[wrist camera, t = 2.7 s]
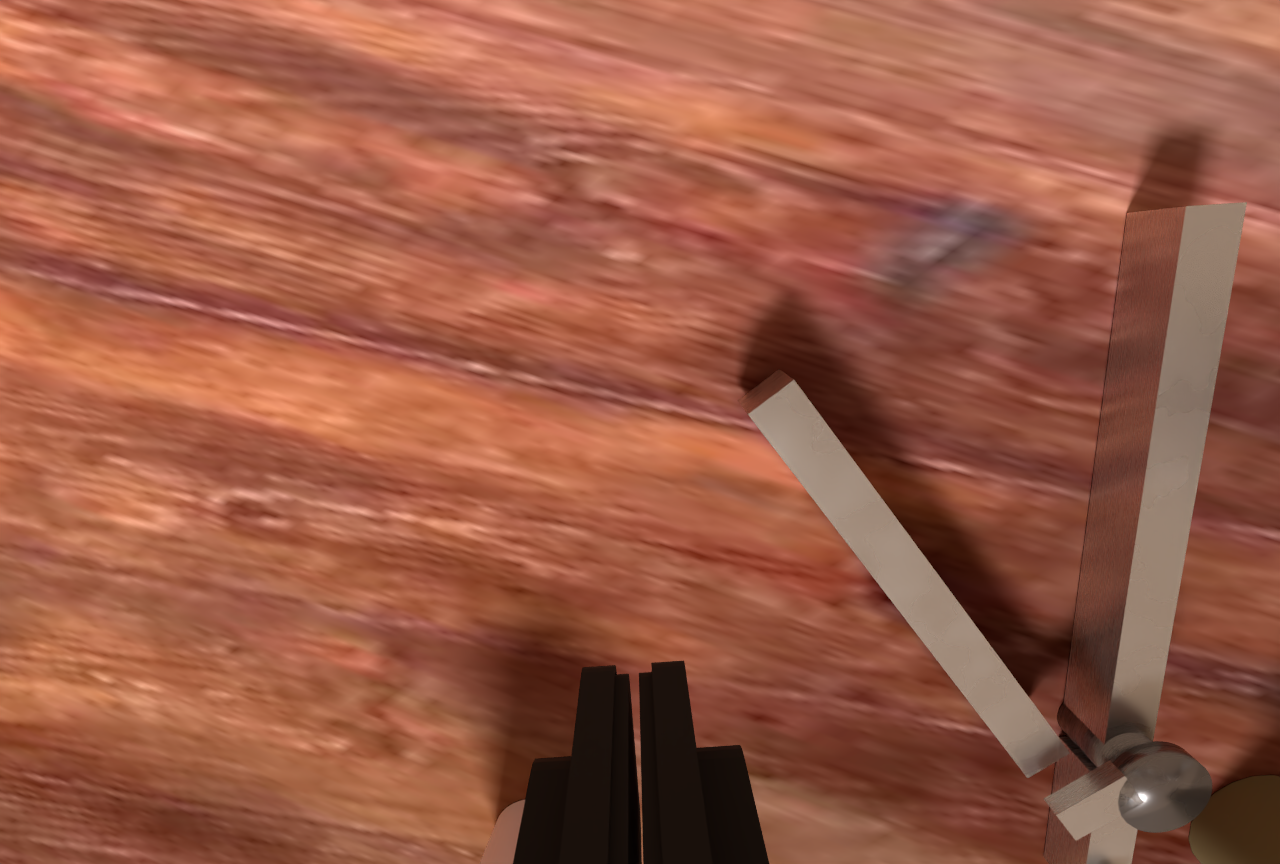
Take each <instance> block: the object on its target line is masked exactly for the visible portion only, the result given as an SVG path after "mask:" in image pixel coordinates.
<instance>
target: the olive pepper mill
mask: <svg viewBox="0 0 1280 864" xmlns="http://www.w3.org/2000/svg"><path fill="white" fill-rule="evenodd" d="M1189 841H1190V845H1191V849H1192V853H1193V854H1194V855H1195V856H1196V858H1197V859H1198V860H1199V861H1200V863H1201V864H1280V776H1275V775H1264V776H1252V777H1248V778H1245V779H1242V780H1239V781H1236V782H1233V783H1231V784H1229V785H1227V786H1226V787H1224V788H1222V789H1221V790H1219V791H1217V792H1216V793H1214V794H1213V795H1212V796H1211V797H1210V800H1209V802H1208V804H1207V805H1206V807H1205V808H1204V810H1203V811H1202V812H1201V813H1200V814H1199V815H1198V816H1197V817H1196V818H1195V819H1193V821H1192V822H1191V828H1190V834H1189Z"/></svg>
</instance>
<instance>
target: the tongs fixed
mask: <svg viewBox="0 0 1280 864" xmlns="http://www.w3.org/2000/svg"><path fill="white" fill-rule="evenodd" d="M1246 204H1247V202H1245V203H1229V204H1213V205H1197V206H1183V207H1174V208H1166V209H1157V210H1148V211H1139V212H1131V213H1127V217H1126V225H1125V233H1124V240H1123V248H1122V256H1121V264H1120V271H1119V279H1118V287H1117V294H1116V302H1115V310H1114V318H1113V325H1112V333H1111V341H1110V349H1109V356H1108V364H1107V372H1106V379H1105V387H1104V395H1103V403H1102V410H1101V418H1100V426H1099V433H1098V441H1097V449H1096V457H1095V464H1094V472H1093V480H1092V488H1091V495H1090V503H1089V511H1088V518H1087V526H1086V534H1085V542H1084V549H1083V557H1082V565H1081V572H1080V580H1079V588H1078V596H1077V603H1076V611H1075V619H1074V626H1073V634H1072V642H1071V650H1070V657H1069V665H1068V673H1067V681H1066V688H1065V696H1064V703H1063V704H1062V706H1061V707H1060V709H1059V712H1058V724H1059V726H1060V727H1061V729H1062V730H1063V731H1064V732H1065V733H1066V734H1067V735H1068V736H1069V737H1059V739H1060V740H1061V742H1062V743H1063V744H1064V746H1065V747H1066V748H1067V750H1068V751H1069V752H1070V754H1068V755H1066V756H1065V757H1063V758H1061V759H1059V760H1058V761H1056V765H1055V773H1054V781H1053V789H1052V794H1053V793H1054V792H1056V791H1058V790H1060V789H1061V788H1063V787H1065V786H1066V785H1068V784H1070V783H1072V782H1073V781H1075V780H1077V779H1079V778H1080V777H1082V776H1084V775H1085V774H1087V773H1089V772H1091V771H1092V770H1094V769H1096V768H1097V767H1099V766H1101V765H1103V764H1104V763H1106V762H1108V761H1111V762H1112V763H1113V762H1114V761H1115V760H1116V759H1117V758H1118V757H1119V756H1120V755H1121V754H1122V753H1124V752H1125V751H1127V750H1129V749H1131V748H1132V747H1135V746H1137V745H1140V744H1143V743H1148V742H1153V737H1154V731H1155V726H1156V720H1157V714H1158V708H1159V703H1160V697H1161V691H1162V685H1163V680H1164V674H1165V668H1166V663H1167V657H1168V651H1169V645H1170V640H1171V634H1172V628H1173V622H1174V617H1175V611H1176V605H1177V600H1178V594H1179V588H1180V582H1181V577H1182V571H1183V565H1184V559H1185V554H1186V548H1187V542H1188V537H1189V531H1190V525H1191V519H1192V514H1193V508H1194V502H1195V496H1196V491H1197V485H1198V479H1199V473H1200V468H1201V462H1202V456H1203V451H1204V445H1205V439H1206V433H1207V428H1208V422H1209V416H1210V410H1211V405H1212V399H1213V393H1214V388H1215V382H1216V376H1217V370H1218V365H1219V359H1220V353H1221V347H1222V342H1223V336H1224V330H1225V325H1226V319H1227V313H1228V307H1229V302H1230V296H1231V290H1232V284H1233V279H1234V273H1235V267H1236V262H1237V256H1238V250H1239V244H1240V239H1241V233H1242V227H1243V221H1244V216H1245V210H1246ZM1136 834H1137V829H1136V828H1134V827H1132V826H1131V825H1129V824H1128V823H1127V822H1126V821H1125V820H1124V819H1123V818H1122V816H1119V817H1117V818H1116V819H1114V820H1112V821H1110V822H1109V823H1107V824H1105V825H1103V826H1101V827H1100V828H1098V829H1096V830H1094V831H1093V832H1091V833H1089V834H1087V835H1085V836H1084V837H1082V838H1080V839H1078V840H1077V841H1076V840H1075V839H1074V838H1073V836H1072V835H1071V834H1070V833H1069V831H1068V830H1067V829H1066V827H1065V826H1064V825H1063V823H1062V822H1061V821H1060V820H1059V818H1058V817H1057V816H1056V814H1055V813H1054V812H1053V810H1052V809H1051V808H1050V812H1049V820H1048V827H1047V835H1046V843H1045V850H1044V858H1045V859H1046V861H1047V862H1048V863H1049V864H1131V863H1132V857H1133V852H1134V846H1135V840H1136Z"/></svg>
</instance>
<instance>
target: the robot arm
mask: <svg viewBox="0 0 1280 864" xmlns="http://www.w3.org/2000/svg"><path fill="white" fill-rule="evenodd" d="M639 692H640V734H641V776H642V819H643V861H644V864H769V861H768V857H767V852H766V848H765V844H764V840H763V835H762V831H761V827H760V822H759V818H758V814H757V810H756V805H755V801H754V797H753V793H752V788H751V784H750V780H749V776H748V771H747V767H746V763H745V759H744V755H743V751H742V748H741V746H740V745H733V746H718V747H703V748H696V742H695V735H694V728H693V721H692V713H691V706H690V699H689V692H688V685H687V678H686V670H685V664H684V661H672V662H657V663H652V672H648V673H639ZM513 864H642V862H641V822H640V805H639V792H638V780H637V767H636V755H635V742H634V730H633V718H632V705H631V693H630V680H629V674H618V675H617V672H616V666H615V665H612V666H598V667H583V668H582V672H581V681H580V689H579V698H578V706H577V714H576V723H575V731H574V740H573V748H572V756H569V757H554V758H539V759H535V760H534V762H533V765H532V769H531V773H530V778H529V783H528V788H527V794H526V799H525V804H524V809H523V814H522V819H521V824H520V829H519V834H518V839H517V845H516V850H515V855H514V860H513Z"/></svg>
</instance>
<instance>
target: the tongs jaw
mask: <svg viewBox="0 0 1280 864" xmlns="http://www.w3.org/2000/svg"><path fill="white" fill-rule="evenodd" d="M738 402H739V403H740V405H741V406H742V407H743V408H744V410H745V411H746V412H747V414H748V415H749V416H750V418H751V419H752V420H753V422H754V423H755V424H756V425H757V427H758V428H759V429H760V431H761V432H762V433H763V435H764V436H765V437H766V438H767V440H768V441H769V442H770V444H771V445H772V446H773V448H774V449H775V450H776V451H777V453H778V454H779V455H780V457H781V458H782V459H783V461H784V462H785V463H786V464H787V466H788V467H789V468H790V470H791V471H792V472H793V474H794V475H795V476H796V477H797V479H798V480H799V481H800V483H801V484H802V485H803V487H804V488H805V489H806V490H807V492H808V493H809V494H810V496H811V497H812V498H813V500H814V501H815V502H816V503H817V505H818V506H819V507H820V509H821V510H822V511H823V513H824V514H825V515H826V516H827V518H828V519H829V520H830V522H831V523H832V524H833V526H834V527H835V528H836V529H837V531H838V532H839V533H840V535H841V536H842V537H843V539H844V540H845V541H846V542H847V544H848V545H849V546H850V548H851V549H852V550H853V552H854V553H855V554H856V555H857V557H858V558H859V559H860V561H861V562H862V563H863V565H864V566H865V567H866V568H867V570H868V571H869V572H870V574H871V575H872V576H873V578H874V579H875V580H876V582H877V583H878V584H879V585H880V587H881V588H882V589H883V591H884V592H885V593H886V595H887V596H888V597H889V598H890V600H891V601H892V602H893V604H894V605H895V606H896V608H897V609H898V610H899V611H900V613H901V614H902V615H903V617H904V618H905V619H906V621H907V622H908V623H909V624H910V626H911V627H912V628H913V630H914V631H915V632H916V634H917V635H918V636H919V637H920V639H921V640H922V641H923V643H924V644H925V645H926V647H927V648H928V649H929V650H930V652H931V653H932V654H933V656H934V657H935V658H936V660H937V661H938V662H939V663H940V665H941V666H942V667H943V669H944V670H945V671H946V673H947V674H948V675H949V676H950V678H951V679H952V680H953V682H954V683H955V684H956V686H957V687H958V688H959V689H960V691H961V692H962V693H963V695H964V696H965V697H966V699H967V700H968V701H969V702H970V704H971V705H972V706H973V708H974V709H975V710H976V712H977V713H978V714H979V715H980V717H981V718H982V719H983V721H984V722H985V723H986V725H987V726H988V727H989V728H990V730H991V731H992V732H993V734H994V735H995V736H996V738H997V739H998V740H999V741H1000V743H1001V744H1002V745H1003V747H1004V748H1005V749H1006V751H1007V752H1008V753H1009V754H1010V756H1011V757H1012V758H1013V760H1014V761H1015V762H1016V764H1017V765H1018V766H1019V767H1020V769H1021V770H1022V771H1023V773H1024V774H1025V775H1026V777H1027V778H1029V777H1031V776H1032V775H1034V774H1036V773H1037V772H1039V771H1041V770H1042V769H1044V768H1046V767H1048V766H1049V765H1051V764H1053V763H1054V762H1056V761H1058V760H1059V759H1061V758H1063V757H1065V756H1066V755H1068V754H1070V752H1069V751H1068V750H1067V748H1066V747H1065V746H1064V744H1063V743H1062V742H1061V740H1060V739H1059V737H1058V736H1057V735H1056V733H1055V732H1054V731H1053V729H1052V728H1051V727H1050V725H1049V724H1048V723H1047V721H1046V720H1045V719H1044V717H1043V716H1042V714H1041V713H1040V712H1039V710H1038V709H1037V708H1036V706H1035V705H1034V704H1033V702H1032V701H1031V700H1030V698H1029V697H1028V696H1027V694H1026V693H1025V691H1024V690H1023V689H1022V687H1021V686H1020V685H1019V683H1018V682H1017V681H1016V679H1015V678H1014V677H1013V675H1012V674H1011V673H1010V671H1009V670H1008V668H1007V667H1006V666H1005V664H1004V663H1003V662H1002V660H1001V659H1000V658H999V656H998V655H997V654H996V652H995V651H994V650H993V648H992V647H991V645H990V644H989V643H988V641H987V640H986V639H985V637H984V636H983V635H982V633H981V632H980V631H979V629H978V628H977V627H976V625H975V624H974V622H973V621H972V620H971V618H970V617H969V616H968V614H967V613H966V612H965V610H964V609H963V608H962V606H961V605H960V604H959V602H958V601H957V599H956V598H955V597H954V595H953V594H952V593H951V591H950V590H949V589H948V587H947V586H946V585H945V583H944V582H943V581H942V579H941V578H940V576H939V575H938V574H937V572H936V571H935V570H934V568H933V567H932V566H931V564H930V563H929V562H928V560H927V559H926V558H925V556H924V555H923V553H922V552H921V551H920V549H919V548H918V547H917V545H916V544H915V543H914V541H913V540H912V539H911V537H910V536H909V535H908V533H907V532H906V530H905V529H904V528H903V526H902V525H901V524H900V522H899V521H898V520H897V518H896V517H895V516H894V514H893V513H892V512H891V510H890V509H889V507H888V506H887V505H886V503H885V502H884V501H883V499H882V498H881V497H880V495H879V494H878V493H877V491H876V490H875V489H874V487H873V486H872V484H871V483H870V482H869V480H868V479H867V478H866V476H865V475H864V474H863V472H862V471H861V470H860V468H859V467H858V466H857V464H856V463H855V461H854V460H853V459H852V457H851V456H850V455H849V453H848V452H847V451H846V449H845V448H844V447H843V445H842V444H841V443H840V441H839V440H838V438H837V437H836V436H835V434H834V433H833V432H832V430H831V429H830V428H829V426H828V425H827V424H826V422H825V421H824V420H823V418H822V417H821V415H820V414H819V413H818V411H817V410H816V409H815V407H814V406H813V405H812V403H811V402H810V401H809V399H808V398H807V397H806V395H805V394H804V392H803V391H802V390H801V388H800V387H799V386H798V384H797V383H796V382H795V380H794V379H792V378H791V377H790V376H788V375H787V374H785V373H784V372H782V371H781V370H780V369H779V370H777V371H776V372H775V373H773V374H772V375H771V376H769V377H768V378H767V379H765V380H764V381H763V382H761V383H760V384H759V385H758V386H756V387H755V388H754V389H752V390H751V391H750V392H748V393H747V394H746V395H744V396H743V397H742V398H740V399H739V400H738ZM1211 793H1212V780H1211V777H1210V775H1209V773H1208V771H1207V770H1206V769H1205V768H1204V767H1203V766H1202V765H1201V764H1200V763H1199V762H1198V761H1197V760H1195V759H1194V758H1193V757H1192V756H1191V755H1190V754H1189V753H1187V752H1186V751H1185V750H1184V749H1183V748H1181V747H1180V746H1177V745H1175V744H1172V743H1169V742H1159V741H1157V742H1148V743H1143V744H1140V745H1137V746H1135V747H1132V748H1131V749H1129V750H1127V751H1125V752H1124V753H1122V754H1121V755H1120V756H1119V757H1118V758H1117V759H1116V760H1115V761H1114V762H1113V763H1112V762H1111V761H1108V762H1106V763H1104V764H1103V765H1101V766H1099V767H1097V768H1096V769H1094V770H1092V771H1091V772H1089V773H1087V774H1085V775H1084V776H1082V777H1080V778H1079V779H1077V780H1075V781H1073V782H1072V783H1070V784H1068V785H1066V786H1065V787H1063V788H1061V789H1060V790H1058V791H1056V792H1054V793H1053V794H1051V795H1049V796H1047V797H1046V798H1044V800H1045V801H1046V803H1047V804H1048V805H1049V807H1050V808H1051V809H1052V810H1053V812H1054V813H1055V814H1056V816H1057V817H1058V818H1059V820H1060V821H1061V822H1062V823H1063V825H1064V826H1065V827H1066V829H1067V830H1068V831H1069V833H1070V834H1071V835H1072V836H1073V838H1074V839H1075V840H1076V841H1077V840H1078V839H1080V838H1082V837H1084V836H1085V835H1087V834H1089V833H1091V832H1093V831H1094V830H1096V829H1098V828H1100V827H1101V826H1103V825H1105V824H1107V823H1109V822H1110V821H1112V820H1114V819H1116V818H1117V817H1119V816H1122V818H1123V819H1124V820H1125V821H1126V822H1127V823H1128V824H1129V825H1131V826H1132V827H1134V828H1136V829H1138V830H1142V831H1146V832H1165V831H1170V830H1174V829H1177V828H1179V827H1181V826H1184V825H1186V824H1187V823H1189V822H1190V821H1192V820H1193V819H1195V818H1196V817H1197V816H1198V815H1199V814H1200V813H1201V812H1202V811H1203V810H1204V808H1205V807H1206V805H1207V804H1208V802H1209V800H1210V797H1211Z"/></svg>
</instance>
